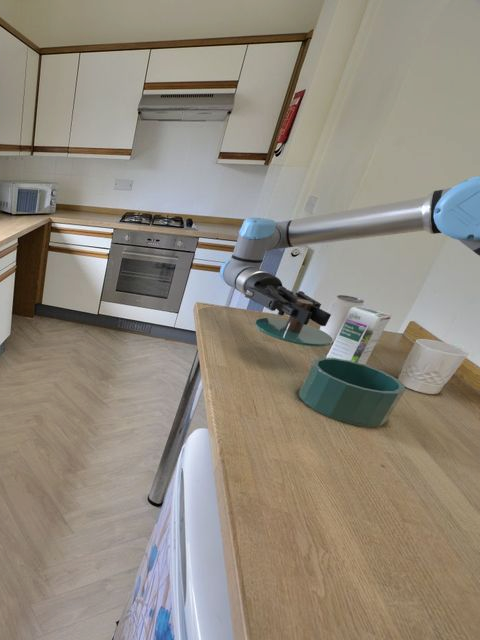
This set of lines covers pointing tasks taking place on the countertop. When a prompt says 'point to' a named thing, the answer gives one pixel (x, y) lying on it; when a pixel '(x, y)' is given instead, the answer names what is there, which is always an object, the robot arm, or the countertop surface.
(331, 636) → the countertop surface
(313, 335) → the bowl lid
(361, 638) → the countertop surface
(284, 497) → the countertop surface
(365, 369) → the bowl
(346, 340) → the syrup box
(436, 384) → the white cup
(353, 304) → the can
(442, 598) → the countertop surface
